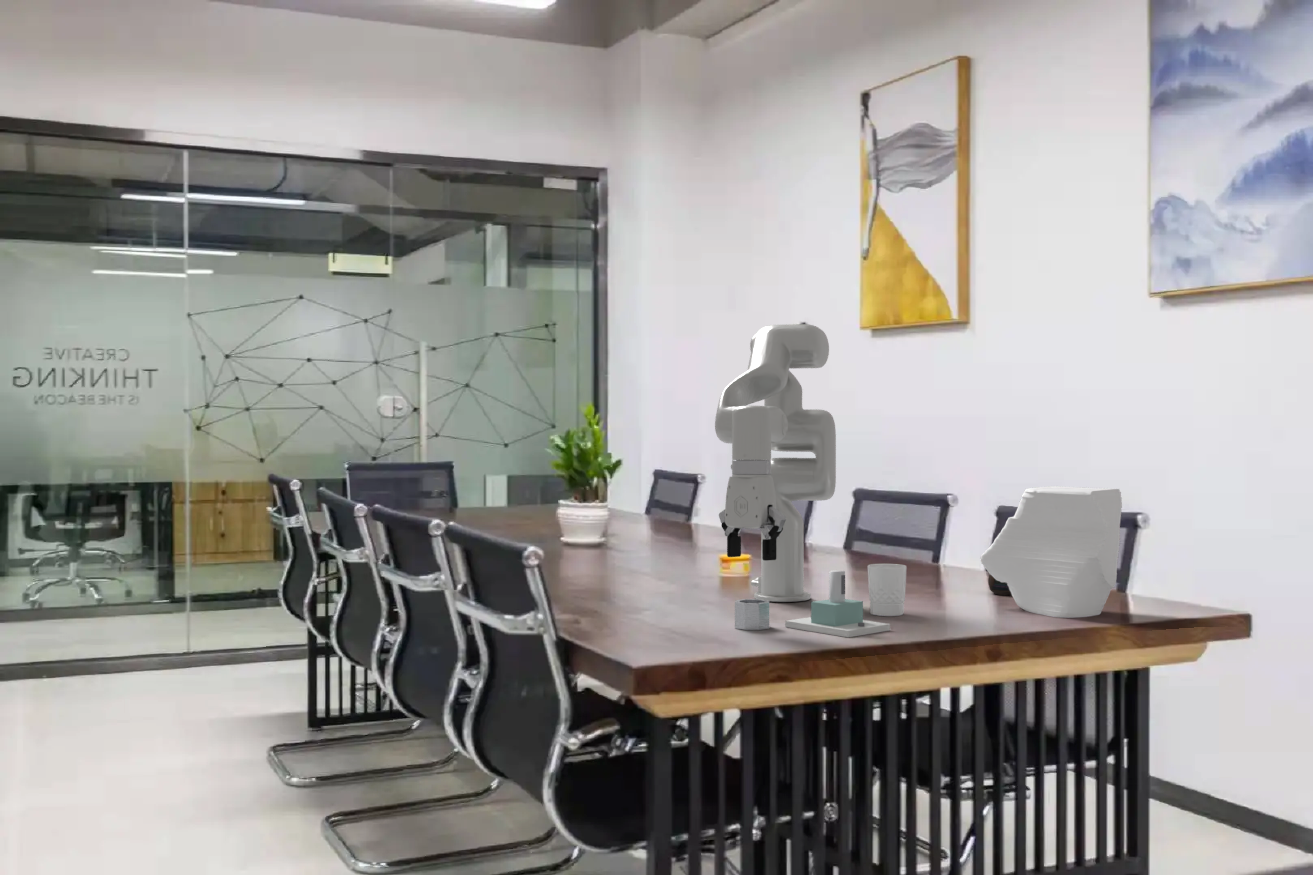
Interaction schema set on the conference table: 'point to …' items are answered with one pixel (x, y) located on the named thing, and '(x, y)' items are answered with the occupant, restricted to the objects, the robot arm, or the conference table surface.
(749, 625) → the grey hollow octagonal block
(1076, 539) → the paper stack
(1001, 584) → the mate gourd
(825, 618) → the pedestal
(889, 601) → the white cup
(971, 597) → the conference table surface
